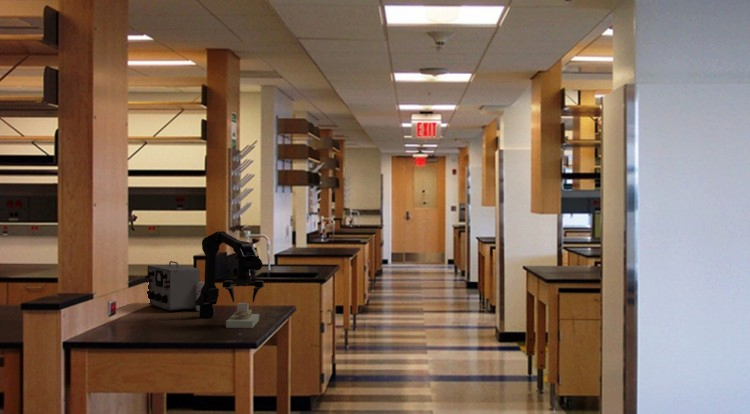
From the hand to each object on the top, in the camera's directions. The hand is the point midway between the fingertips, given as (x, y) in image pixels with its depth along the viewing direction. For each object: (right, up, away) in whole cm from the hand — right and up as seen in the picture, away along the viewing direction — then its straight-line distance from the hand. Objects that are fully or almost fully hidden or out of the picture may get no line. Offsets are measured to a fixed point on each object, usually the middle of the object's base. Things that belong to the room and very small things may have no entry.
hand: (243, 302), depth 350 cm
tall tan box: (0, -7, 0) cm, 7 cm away
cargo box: (0, -4, 0) cm, 4 cm away
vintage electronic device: (-47, -10, +48) cm, 68 cm away
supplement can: (-28, -10, +41) cm, 50 cm away
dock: (0, -10, 0) cm, 10 cm away
